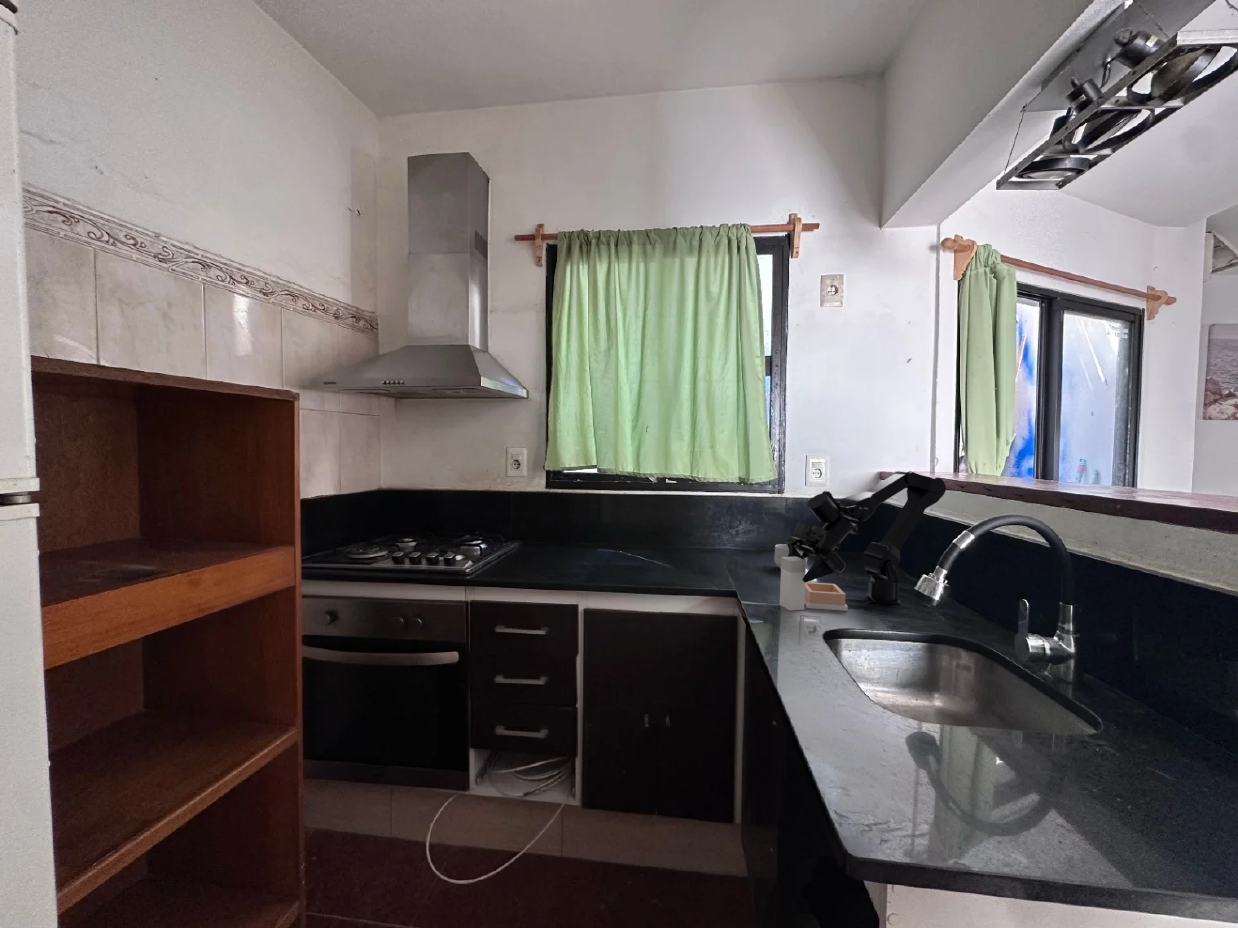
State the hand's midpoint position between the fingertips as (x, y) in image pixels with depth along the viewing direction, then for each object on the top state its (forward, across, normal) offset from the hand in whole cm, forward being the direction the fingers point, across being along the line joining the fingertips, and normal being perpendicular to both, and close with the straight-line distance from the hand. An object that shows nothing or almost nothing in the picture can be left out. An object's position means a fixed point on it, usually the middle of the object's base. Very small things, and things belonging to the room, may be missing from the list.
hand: (793, 576), depth 123 cm
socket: (-1, -1, +13) cm, 13 cm away
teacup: (-8, -32, +20) cm, 39 cm away
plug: (+6, 0, +6) cm, 8 cm away
